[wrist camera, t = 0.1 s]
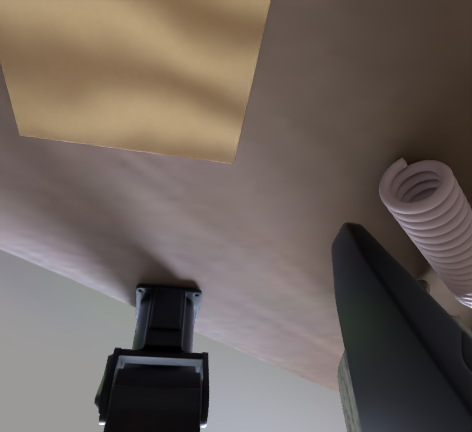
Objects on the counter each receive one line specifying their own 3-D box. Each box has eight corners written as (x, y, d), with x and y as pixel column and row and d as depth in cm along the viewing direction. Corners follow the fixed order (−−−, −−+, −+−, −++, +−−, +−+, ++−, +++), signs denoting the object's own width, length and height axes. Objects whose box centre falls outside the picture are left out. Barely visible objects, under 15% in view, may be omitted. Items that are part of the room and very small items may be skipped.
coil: (383, 217, 24) (463, 318, 34) (459, 186, 22) (521, 305, 32) (370, 169, 27) (447, 275, 37) (435, 138, 25) (499, 260, 35)
